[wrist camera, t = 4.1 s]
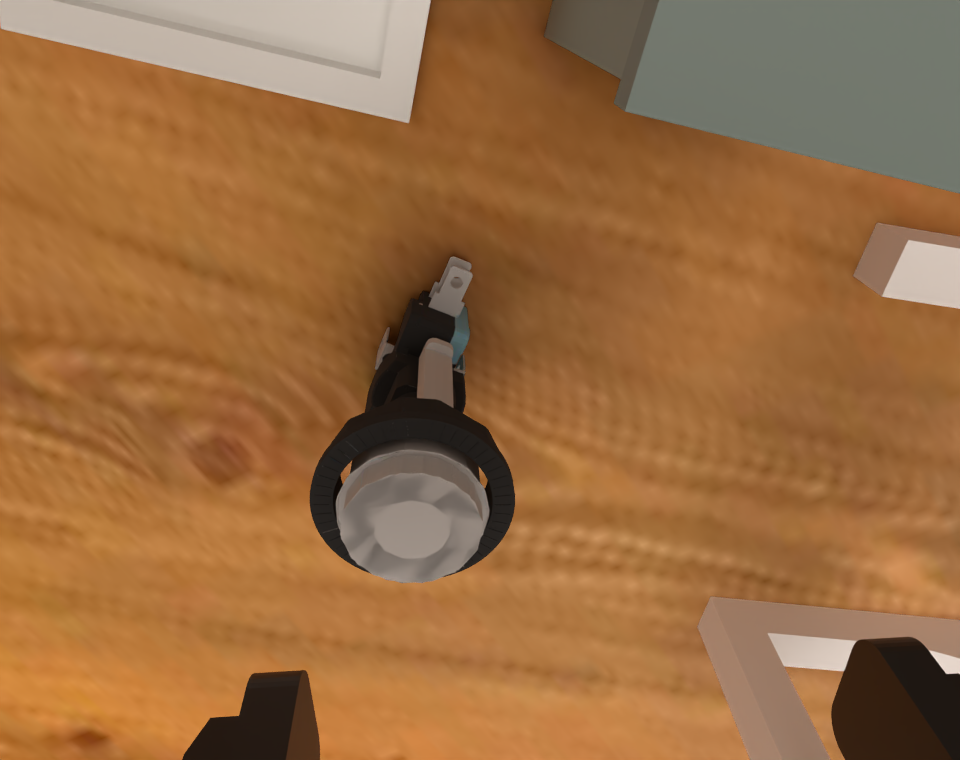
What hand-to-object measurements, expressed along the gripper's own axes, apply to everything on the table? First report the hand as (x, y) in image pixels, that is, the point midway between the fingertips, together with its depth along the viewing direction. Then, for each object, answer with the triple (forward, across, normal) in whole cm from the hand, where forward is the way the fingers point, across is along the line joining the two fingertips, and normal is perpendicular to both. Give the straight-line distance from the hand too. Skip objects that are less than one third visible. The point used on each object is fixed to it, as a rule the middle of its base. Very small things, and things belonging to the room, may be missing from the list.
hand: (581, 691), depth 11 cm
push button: (+17, +2, +2) cm, 18 cm away
